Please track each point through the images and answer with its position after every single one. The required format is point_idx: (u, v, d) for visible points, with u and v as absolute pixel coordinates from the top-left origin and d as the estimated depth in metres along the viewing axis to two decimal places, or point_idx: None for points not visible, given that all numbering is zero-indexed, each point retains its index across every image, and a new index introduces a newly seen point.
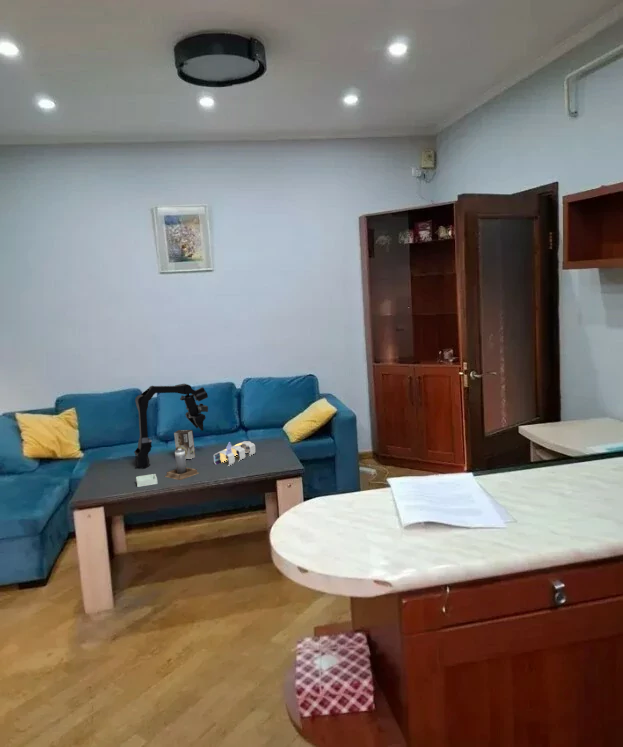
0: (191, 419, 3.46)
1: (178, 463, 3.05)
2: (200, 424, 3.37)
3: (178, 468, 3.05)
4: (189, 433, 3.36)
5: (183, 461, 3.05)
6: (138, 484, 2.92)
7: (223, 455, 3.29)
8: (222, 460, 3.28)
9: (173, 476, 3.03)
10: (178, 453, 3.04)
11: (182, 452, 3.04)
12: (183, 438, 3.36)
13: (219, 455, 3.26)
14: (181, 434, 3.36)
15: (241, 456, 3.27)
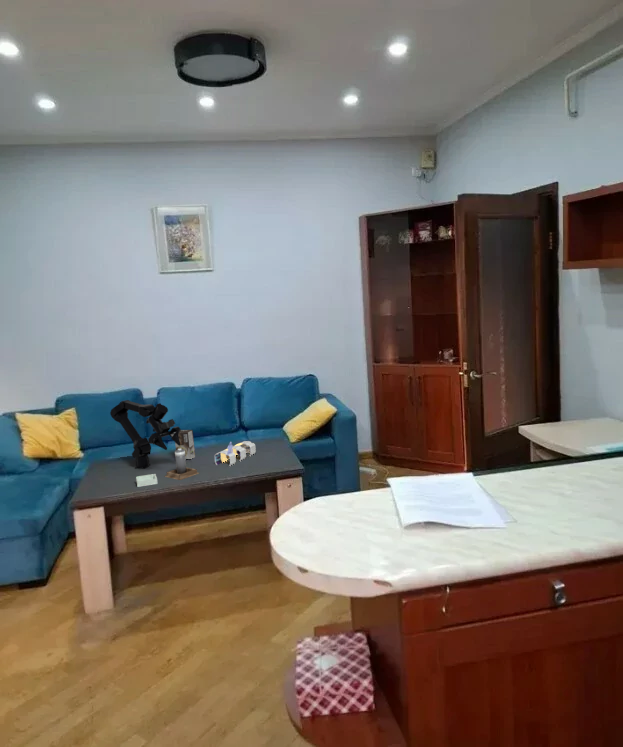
0: (173, 437, 3.19)
1: (178, 463, 3.05)
2: (160, 444, 3.09)
3: (178, 468, 3.05)
4: (189, 433, 3.36)
5: (183, 461, 3.05)
6: (138, 484, 2.92)
7: (224, 455, 3.29)
8: (223, 460, 3.28)
9: (173, 476, 3.03)
10: (178, 453, 3.04)
11: (182, 452, 3.04)
12: (183, 438, 3.36)
13: (220, 455, 3.26)
14: (181, 434, 3.36)
15: (242, 456, 3.27)
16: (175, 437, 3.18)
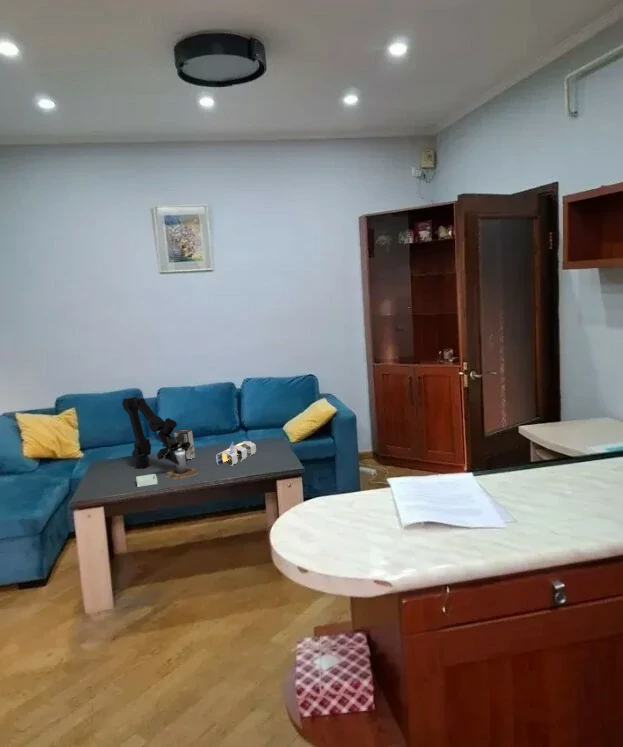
0: None
1: None
2: (172, 458, 3.05)
3: (178, 468, 3.05)
4: (189, 433, 3.36)
5: (183, 461, 3.05)
6: (138, 484, 2.92)
7: (225, 455, 3.29)
8: (224, 460, 3.27)
9: (173, 476, 3.03)
10: (178, 453, 3.04)
11: (182, 452, 3.04)
12: None
13: (221, 455, 3.26)
14: None
15: (243, 456, 3.28)
16: None
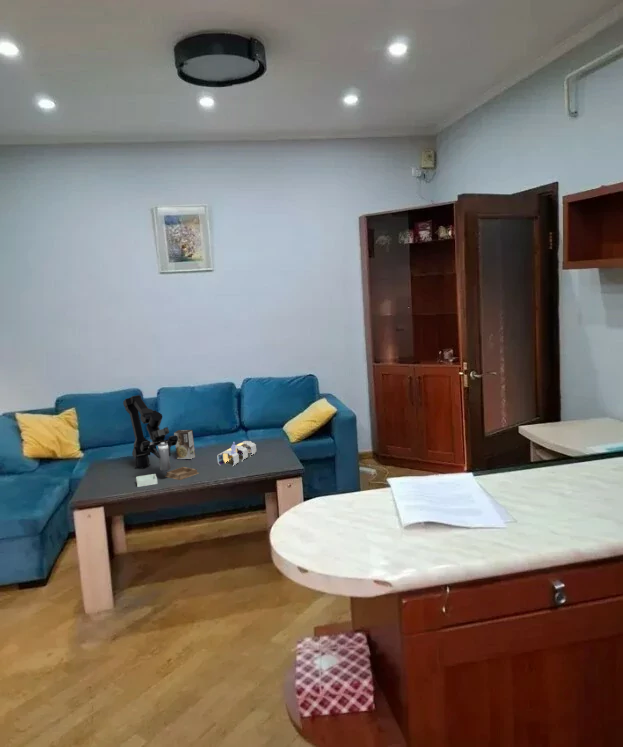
0: None
1: (160, 457, 2.98)
2: (154, 452, 2.99)
3: (160, 462, 2.98)
4: (189, 433, 3.36)
5: (165, 455, 2.98)
6: (138, 484, 2.92)
7: (225, 455, 3.29)
8: (225, 460, 3.27)
9: (173, 476, 3.03)
10: (160, 447, 2.97)
11: (164, 446, 2.97)
12: (183, 438, 3.36)
13: (222, 455, 3.25)
14: (181, 434, 3.36)
15: (244, 456, 3.28)
16: None
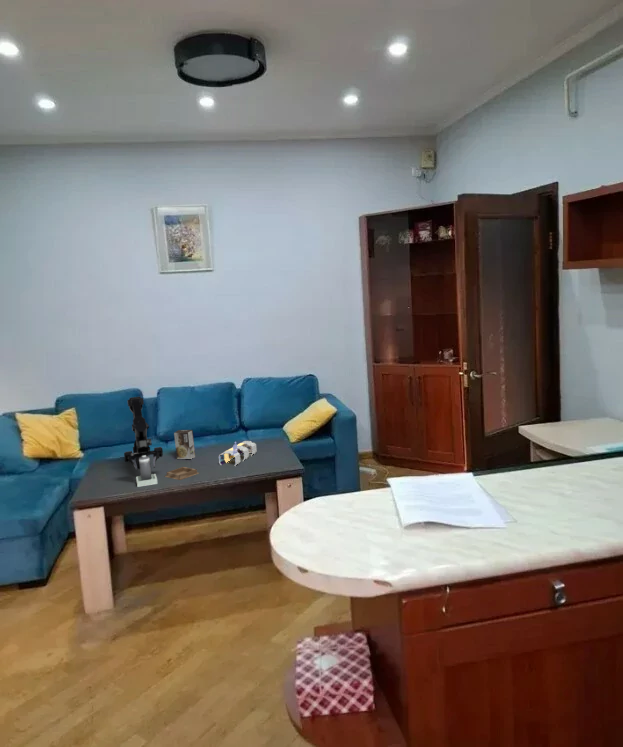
0: None
1: (140, 470, 2.96)
2: (133, 463, 2.97)
3: (141, 475, 2.96)
4: (189, 433, 3.36)
5: (145, 469, 2.95)
6: (138, 484, 2.92)
7: (226, 455, 3.28)
8: (226, 460, 3.27)
9: (173, 476, 3.03)
10: (140, 460, 2.95)
11: (143, 460, 2.94)
12: (183, 438, 3.36)
13: (223, 455, 3.25)
14: (181, 434, 3.36)
15: (245, 456, 3.28)
16: (153, 458, 3.00)
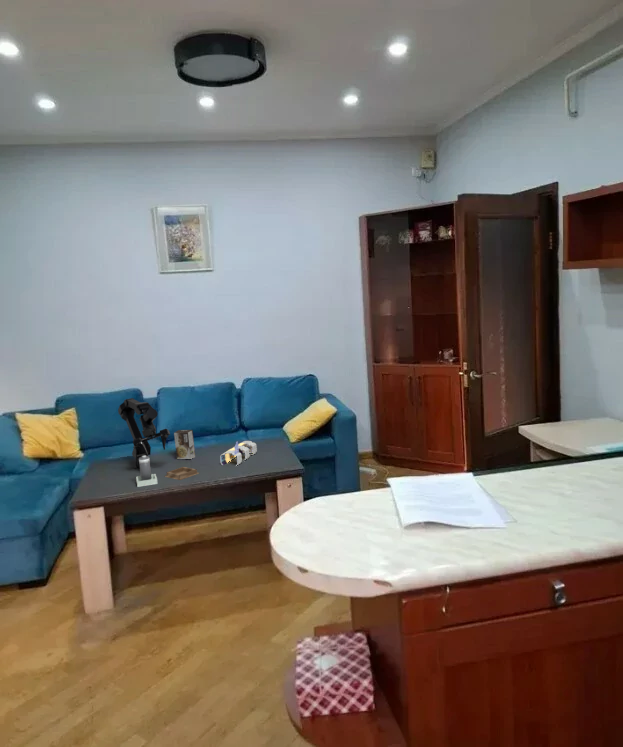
0: None
1: (140, 470, 2.96)
2: (143, 449, 3.12)
3: (141, 475, 2.96)
4: (189, 433, 3.36)
5: (145, 469, 2.95)
6: (138, 484, 2.92)
7: (227, 455, 3.28)
8: (227, 460, 3.26)
9: (173, 476, 3.03)
10: (140, 460, 2.94)
11: (143, 460, 2.94)
12: (183, 438, 3.36)
13: (224, 455, 3.25)
14: (181, 434, 3.36)
15: (246, 455, 3.28)
16: None
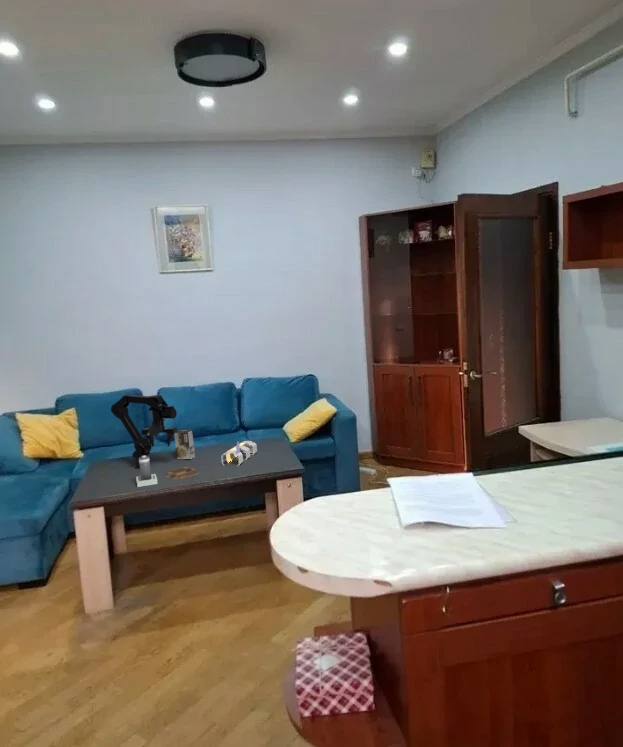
0: None
1: (140, 470, 2.96)
2: None
3: (141, 475, 2.96)
4: (189, 433, 3.37)
5: (145, 469, 2.95)
6: (138, 484, 2.92)
7: (228, 455, 3.28)
8: (228, 460, 3.26)
9: (173, 476, 3.03)
10: (140, 460, 2.94)
11: (143, 460, 2.94)
12: (183, 438, 3.36)
13: (225, 455, 3.24)
14: (181, 434, 3.36)
15: (247, 455, 3.28)
16: None
